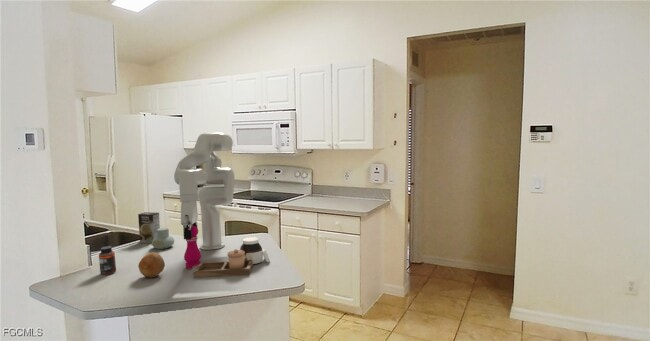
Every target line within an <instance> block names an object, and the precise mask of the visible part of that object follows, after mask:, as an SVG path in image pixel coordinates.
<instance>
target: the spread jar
mask: <svg viewBox="0 0 650 341" xmlns="http://www.w3.org/2000/svg"><path fill="white" fill-rule="evenodd" d="M239 250H243V251H245V254H244V260H252V263H253V266H256V265H259V264H261V263H262V262H263V261H264V260H265V261H266V263H270V262H271V260H270V258H269V254H268V253H267V251H266V249H265V248H262V246H261V244H260V243H259V238H258V237H255V236H251V237H246V238H243V239H242V244H241V245H240V248H239ZM263 259H264V260H263Z"/></svg>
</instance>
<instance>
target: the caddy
mask: <svg viewBox="0 0 650 341" xmlns="http://www.w3.org/2000/svg"><path fill="white" fill-rule="evenodd" d="M244 263H245V268H239V269H229V260H228V261H226V260H225V261H208V262H205V261H204V262H200V264H199V265H197V267H195V269H194V271H193V278H194V279H198V278H217V277H234V276H235V277H237V276H250V275H251V271H252V268H253V266H254V265H253V263H252V260H244Z"/></svg>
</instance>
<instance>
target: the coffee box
mask: <svg viewBox="0 0 650 341" xmlns="http://www.w3.org/2000/svg"><path fill="white" fill-rule="evenodd" d="M137 215H138V216H137V217H138V231H139V232H138V233H139V243H144V244H146V243H147V244H149V243H150V244H152V241H153V240H154V239H155V238H156V237H157V231H156V230H157V229H159V228H161V225H160V224H161V223H160V222H161V221H160V212H150V211H148V212H147V211H146V212H142V213H138V214H137Z"/></svg>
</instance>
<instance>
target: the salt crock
mask: <svg viewBox="0 0 650 341" xmlns="http://www.w3.org/2000/svg"><path fill="white" fill-rule="evenodd" d="M244 254H245V251H243V250H240V249H234V250H231V251H228V252H227V257H228V261H229V269H239V268H245V263H244Z"/></svg>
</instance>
